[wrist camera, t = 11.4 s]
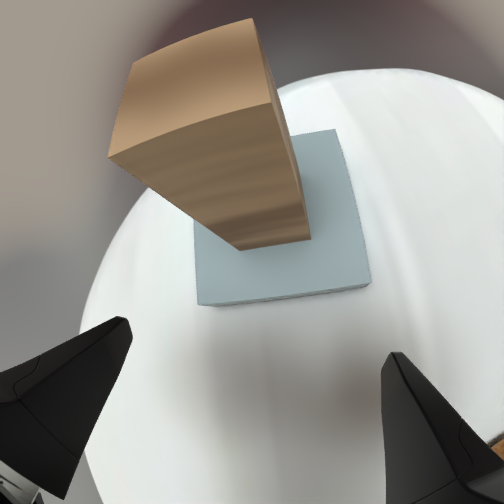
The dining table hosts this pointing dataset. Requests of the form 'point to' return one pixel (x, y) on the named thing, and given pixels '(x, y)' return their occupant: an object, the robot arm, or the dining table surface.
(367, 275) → the slate base
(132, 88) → the walnut column
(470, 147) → the dining table surface
